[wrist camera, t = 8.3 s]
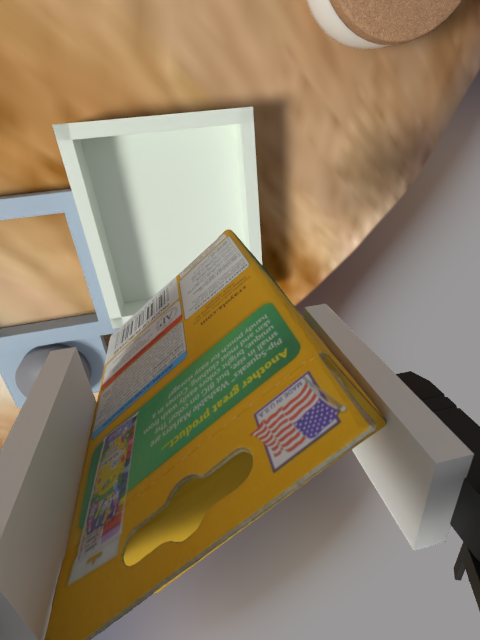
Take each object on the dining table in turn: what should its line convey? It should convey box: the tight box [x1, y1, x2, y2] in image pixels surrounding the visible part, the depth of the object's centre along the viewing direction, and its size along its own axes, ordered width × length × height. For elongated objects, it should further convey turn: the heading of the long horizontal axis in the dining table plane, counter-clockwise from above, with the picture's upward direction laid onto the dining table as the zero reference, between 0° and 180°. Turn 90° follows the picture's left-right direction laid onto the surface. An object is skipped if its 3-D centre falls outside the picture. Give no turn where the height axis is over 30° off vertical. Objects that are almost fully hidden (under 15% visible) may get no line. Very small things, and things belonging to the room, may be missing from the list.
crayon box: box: [44, 230, 386, 640], centre depth 11 cm, size 7×3×12 cm, turn 130°
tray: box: [52, 107, 262, 329], centre depth 31 cm, size 16×14×4 cm
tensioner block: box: [0, 189, 119, 407], centre depth 32 cm, size 20×14×4 cm
